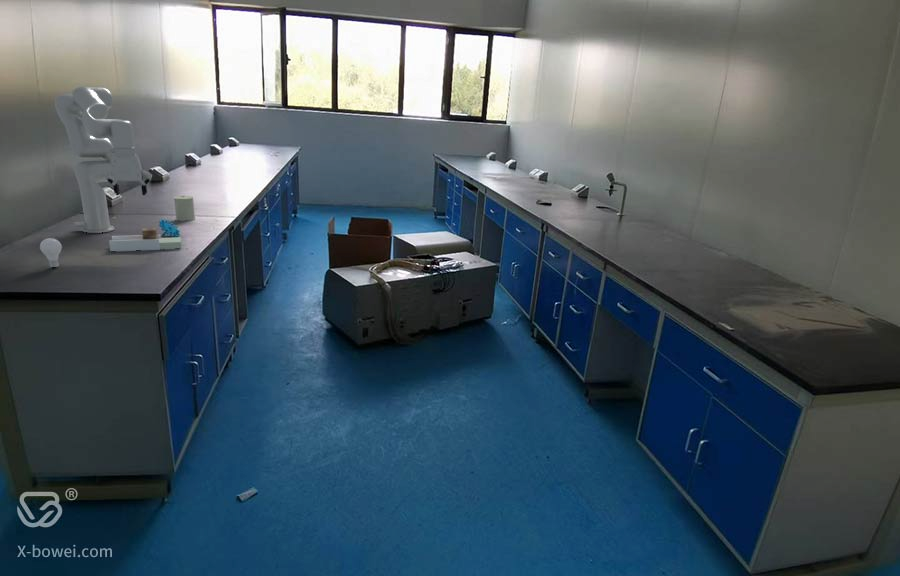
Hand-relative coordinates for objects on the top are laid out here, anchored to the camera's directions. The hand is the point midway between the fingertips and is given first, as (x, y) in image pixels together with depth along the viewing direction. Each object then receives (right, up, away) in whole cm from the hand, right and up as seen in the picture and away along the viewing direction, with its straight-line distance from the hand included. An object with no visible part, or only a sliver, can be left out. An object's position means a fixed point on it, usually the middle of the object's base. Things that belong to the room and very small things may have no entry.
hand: (131, 194), depth 222 cm
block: (+5, -18, +6) cm, 20 cm away
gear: (+2, -15, +27) cm, 31 cm away
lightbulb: (-13, -31, -25) cm, 42 cm away
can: (-7, -2, +61) cm, 61 cm away
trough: (+3, -21, +6) cm, 23 cm away
